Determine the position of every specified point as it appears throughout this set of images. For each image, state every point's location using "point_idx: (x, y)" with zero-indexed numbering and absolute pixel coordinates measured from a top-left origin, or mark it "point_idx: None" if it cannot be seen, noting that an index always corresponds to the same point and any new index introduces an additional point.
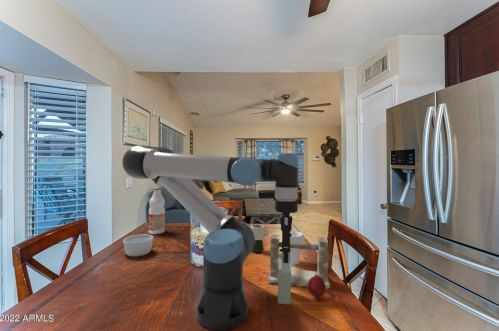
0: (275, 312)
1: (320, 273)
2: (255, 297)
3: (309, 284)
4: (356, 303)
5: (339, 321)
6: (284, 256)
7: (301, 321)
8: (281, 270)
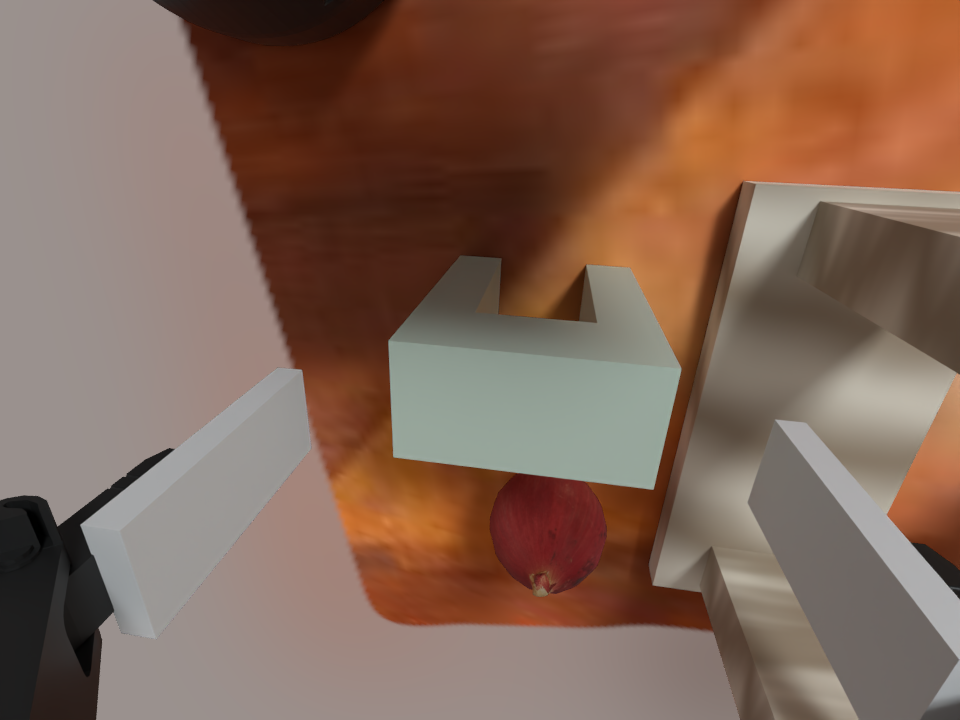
0: (365, 238)
1: (723, 595)
2: (511, 80)
3: (528, 499)
4: (519, 623)
5: (371, 521)
6: (91, 514)
7: (326, 369)
8: (265, 378)
